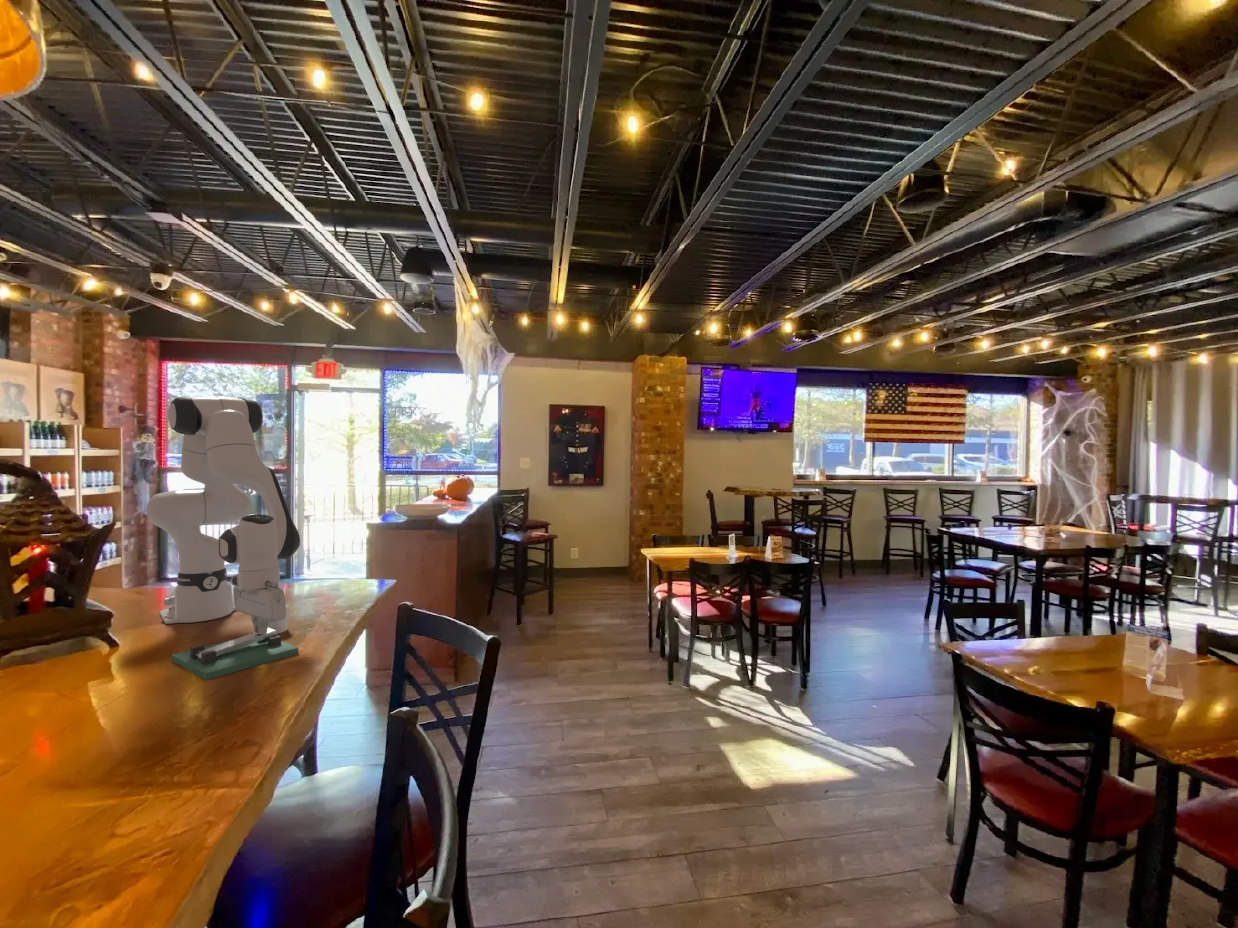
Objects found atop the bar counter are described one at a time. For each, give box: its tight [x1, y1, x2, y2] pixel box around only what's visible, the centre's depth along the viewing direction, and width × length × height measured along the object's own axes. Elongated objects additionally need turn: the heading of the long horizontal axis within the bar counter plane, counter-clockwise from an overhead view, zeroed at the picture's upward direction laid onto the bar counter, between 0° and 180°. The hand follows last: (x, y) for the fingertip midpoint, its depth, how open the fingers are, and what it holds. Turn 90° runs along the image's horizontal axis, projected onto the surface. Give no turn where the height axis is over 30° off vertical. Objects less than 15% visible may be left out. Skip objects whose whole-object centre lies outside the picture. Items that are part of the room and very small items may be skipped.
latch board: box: [171, 634, 299, 681], centre depth 139 cm, size 20×20×4 cm
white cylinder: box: [267, 603, 290, 635], centre depth 159 cm, size 7×7×7 cm
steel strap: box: [195, 628, 278, 659], centre depth 140 cm, size 4×16×2 cm, turn 146°
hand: (260, 633), depth 143 cm, fingers closed, pressing on steel strap
